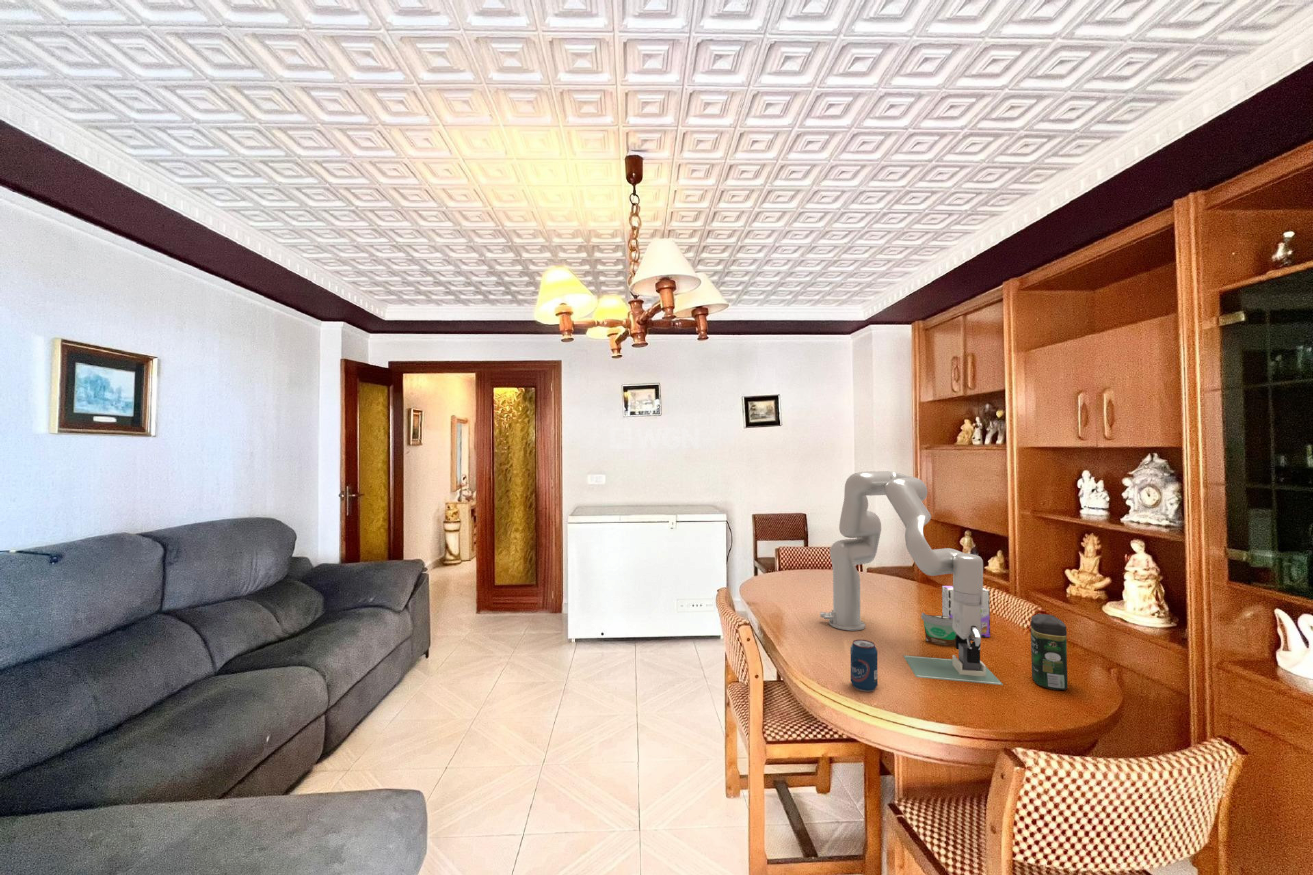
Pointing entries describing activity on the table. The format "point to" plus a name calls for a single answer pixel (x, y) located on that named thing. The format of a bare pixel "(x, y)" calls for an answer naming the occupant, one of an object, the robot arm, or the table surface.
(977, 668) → the plug
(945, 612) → the candy box
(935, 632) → the food container
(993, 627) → the table surface
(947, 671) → the board
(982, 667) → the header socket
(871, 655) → the soda can
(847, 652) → the table surface
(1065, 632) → the coffee jar
